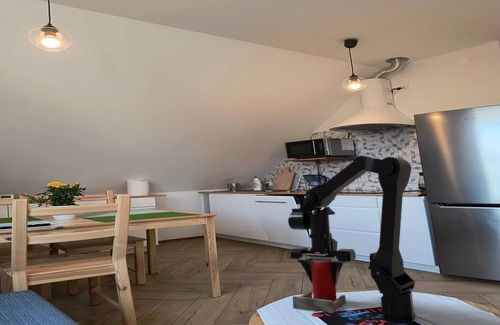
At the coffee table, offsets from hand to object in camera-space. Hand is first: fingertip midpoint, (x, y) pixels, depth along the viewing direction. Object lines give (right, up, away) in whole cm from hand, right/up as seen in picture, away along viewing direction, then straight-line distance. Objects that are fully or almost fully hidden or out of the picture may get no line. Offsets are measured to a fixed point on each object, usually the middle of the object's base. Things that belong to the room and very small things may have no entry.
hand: (323, 283), depth 97 cm
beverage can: (0, -5, -1) cm, 5 cm away
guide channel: (-2, -5, -4) cm, 6 cm away
